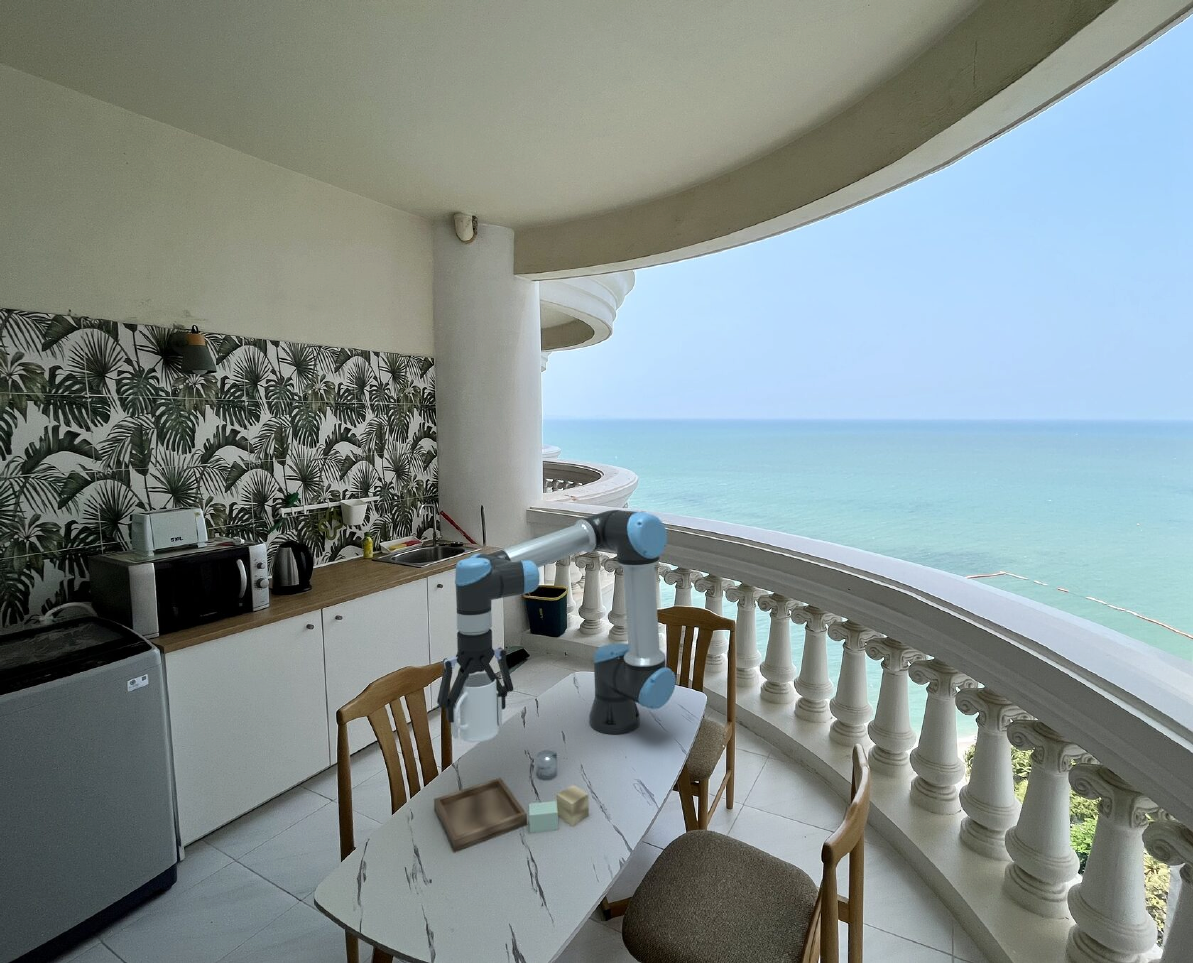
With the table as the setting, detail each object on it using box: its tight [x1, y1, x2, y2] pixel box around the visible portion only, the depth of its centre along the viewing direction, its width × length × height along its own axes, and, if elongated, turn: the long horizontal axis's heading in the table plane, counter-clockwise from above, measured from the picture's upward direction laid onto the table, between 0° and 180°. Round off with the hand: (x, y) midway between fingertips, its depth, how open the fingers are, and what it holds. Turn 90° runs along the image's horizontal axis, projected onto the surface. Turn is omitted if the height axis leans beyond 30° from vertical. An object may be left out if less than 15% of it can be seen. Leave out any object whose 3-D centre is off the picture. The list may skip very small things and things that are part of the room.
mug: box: [454, 672, 500, 743], centre depth 122 cm, size 12×8×12 cm
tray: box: [433, 777, 528, 853], centre depth 124 cm, size 16×16×2 cm
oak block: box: [556, 784, 590, 827], centre depth 124 cm, size 5×5×5 cm
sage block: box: [528, 800, 559, 834], centre depth 121 cm, size 6×4×4 cm, turn 98°
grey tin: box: [536, 749, 558, 781], centre depth 140 cm, size 5×5×5 cm
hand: (477, 729), depth 123 cm, fingers closed on mug, 9 cm apart
